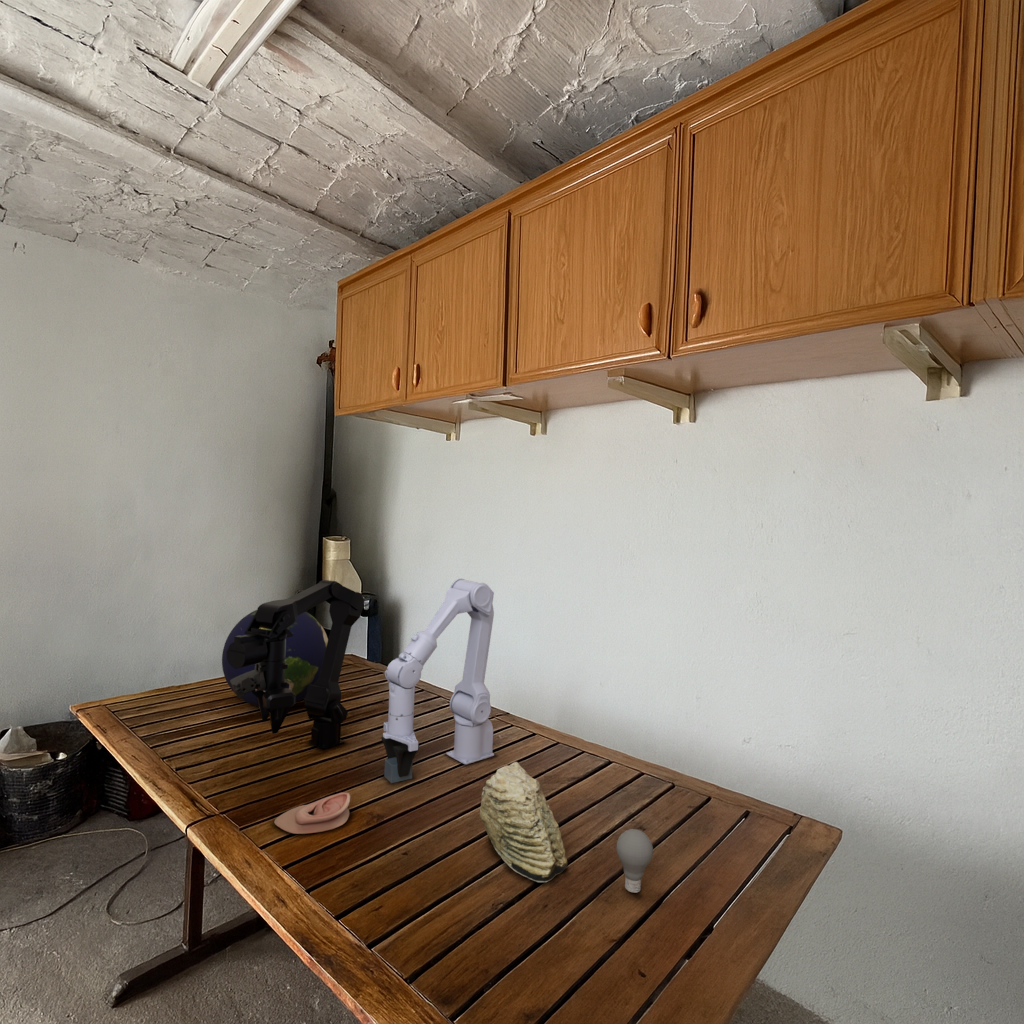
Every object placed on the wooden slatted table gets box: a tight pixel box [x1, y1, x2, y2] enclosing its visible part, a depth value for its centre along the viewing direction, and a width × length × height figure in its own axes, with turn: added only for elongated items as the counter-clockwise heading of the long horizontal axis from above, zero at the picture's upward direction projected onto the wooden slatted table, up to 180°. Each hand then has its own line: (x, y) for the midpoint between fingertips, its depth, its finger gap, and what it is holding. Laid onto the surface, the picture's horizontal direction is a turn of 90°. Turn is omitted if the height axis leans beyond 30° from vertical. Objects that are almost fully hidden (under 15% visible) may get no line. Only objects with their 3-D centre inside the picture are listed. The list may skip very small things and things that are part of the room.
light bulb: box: [615, 828, 654, 894], centre depth 106 cm, size 6×6×10 cm
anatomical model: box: [274, 791, 351, 835], centre depth 124 cm, size 13×4×12 cm
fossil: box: [479, 761, 569, 883], centre depth 114 cm, size 9×18×15 cm, turn 46°
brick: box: [383, 757, 414, 784], centre depth 144 cm, size 4×5×4 cm
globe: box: [221, 608, 329, 708], centre depth 188 cm, size 30×30×30 cm
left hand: (269, 726), depth 145 cm, fingers open, 9 cm apart
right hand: (398, 771), depth 144 cm, fingers open, 4 cm apart
